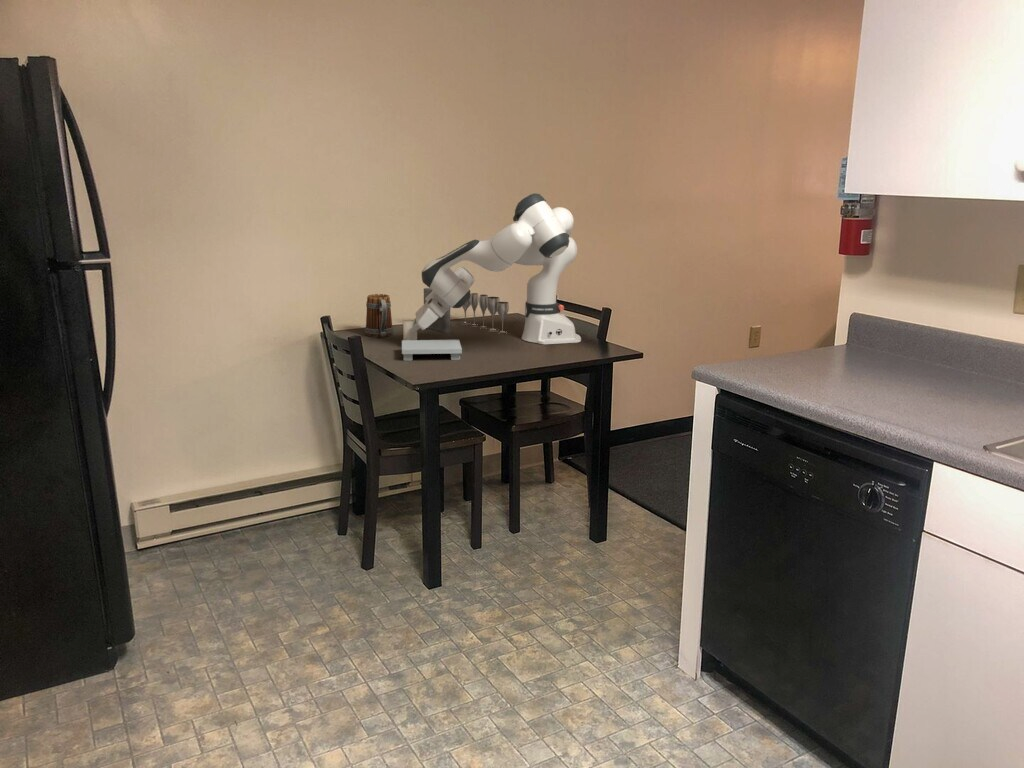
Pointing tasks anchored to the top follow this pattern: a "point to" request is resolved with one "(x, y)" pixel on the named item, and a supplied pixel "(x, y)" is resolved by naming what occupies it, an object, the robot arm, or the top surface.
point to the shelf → (431, 348)
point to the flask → (441, 322)
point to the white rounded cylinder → (406, 326)
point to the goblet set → (487, 306)
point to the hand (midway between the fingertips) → (409, 330)
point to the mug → (378, 316)
